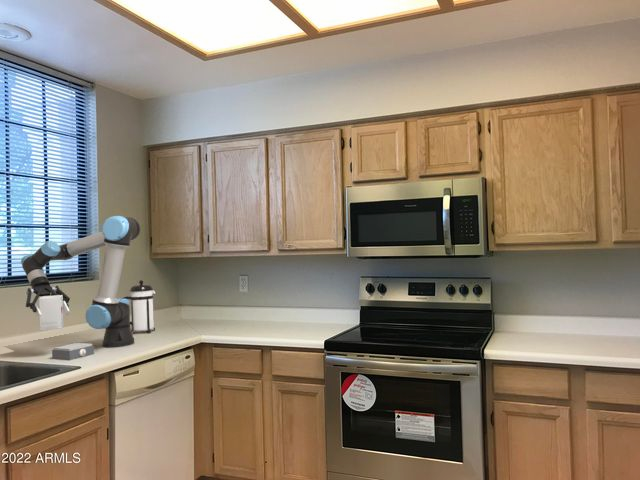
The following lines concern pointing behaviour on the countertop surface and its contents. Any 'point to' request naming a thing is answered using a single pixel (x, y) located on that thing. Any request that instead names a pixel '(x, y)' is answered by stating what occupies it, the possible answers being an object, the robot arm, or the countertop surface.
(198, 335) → the countertop surface
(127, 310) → the robot arm
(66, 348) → the kitchen scale
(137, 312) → the coffee press
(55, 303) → the supplement box
